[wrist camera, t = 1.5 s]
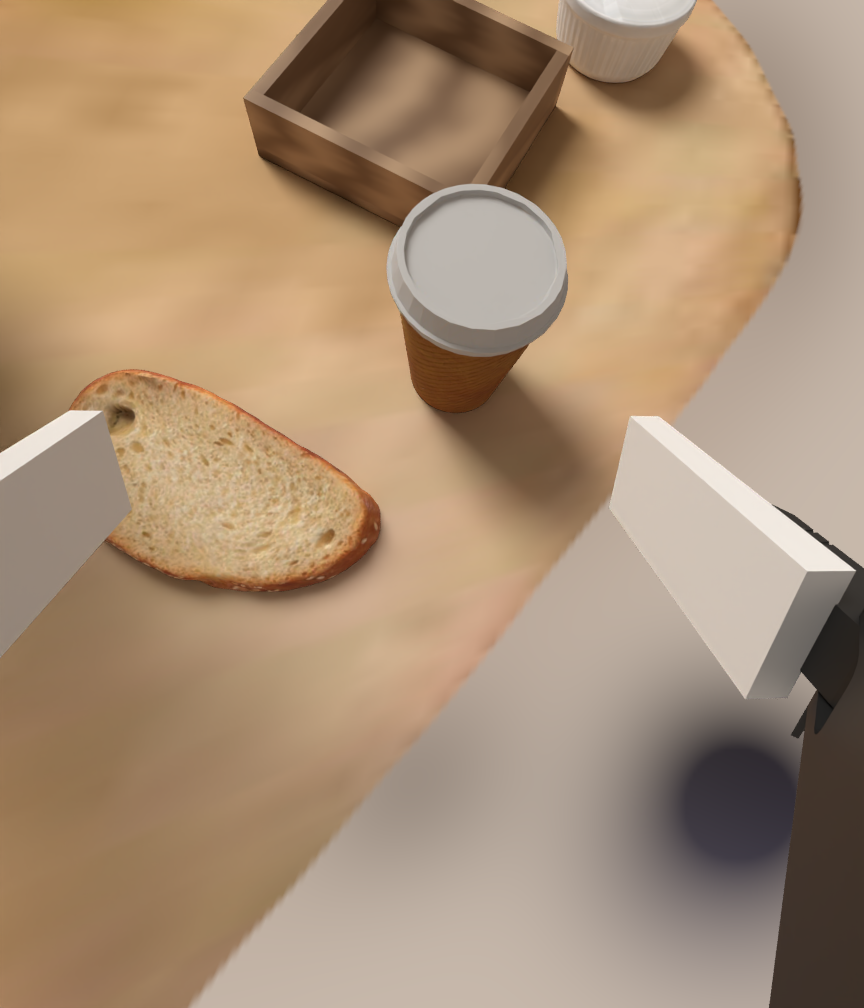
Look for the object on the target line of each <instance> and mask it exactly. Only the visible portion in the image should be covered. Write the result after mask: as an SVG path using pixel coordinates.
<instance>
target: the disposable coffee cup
mask: <svg viewBox="0 0 864 1008" xmlns="http://www.w3.org/2000/svg"><path fill="white" fill-rule="evenodd" d="M387 278H388V284H389V288H390V292H391V295H392V297H393V299H394V301H395V303H396V305H397V307H398V309H399V311H400V316H401V319H402V325H403V332H404V339H405V345H406V351H407V356H408V361H409V366H410V373H411V380H412V383H413V386H414V388H415V390H416V392H417V393H418V394H419V396H420V397H421V398H422V399H423V400H424V401H425V402H426V403H428V404H429V405H431V406H432V407H434V408H436V409H439V410H442V411H445V412H452V413H460V412H467V411H471V410H473V409H475V408H478V407H479V406H481V405H482V404H484V403H485V402H486V401H487V400H488V399H489V397H490V396H491V395H492V393H493V392H494V391H495V389H496V388H497V387H498V385H499V384H500V383H501V381H502V380H503V379H504V377H505V376H506V375H507V373H508V372H509V370H510V369H511V368H512V367H513V365H514V364H515V363H516V361H517V360H518V359H519V358H520V356H521V355H522V354H523V352H524V351H525V349H526V348H527V347H528V345H529V344H530V343H531V342H533V341H534V340H536V339H537V338H539V337H540V336H541V335H543V334H544V333H545V332H546V330H547V329H548V328H549V327H550V326H551V325H552V323H553V322H554V321H555V320H556V319H557V317H558V315H559V313H560V311H561V309H562V307H563V305H564V302H565V298H566V294H567V290H568V274H567V263H566V251H565V248H564V244H563V241H562V238H561V236H560V234H559V232H558V230H557V228H556V227H555V225H554V224H553V222H552V221H551V220H550V219H549V217H548V216H547V215H546V214H545V213H544V212H543V211H542V210H541V209H540V208H539V207H538V206H536V205H535V204H534V203H532V202H531V201H529V200H527V199H526V198H524V197H522V196H521V195H519V194H517V193H514V192H512V191H509V190H507V189H504V188H500V187H495V186H490V185H485V184H464V185H457V186H453V187H449V188H445V189H442V190H440V191H438V192H435V193H433V194H431V195H430V196H428V197H426V198H425V199H423V200H422V201H421V202H420V203H419V204H417V205H416V206H415V207H414V208H413V209H412V211H411V212H410V213H409V214H408V216H407V217H406V219H405V221H404V223H403V225H402V226H401V227H400V229H399V230H398V232H397V234H396V235H395V237H394V239H393V241H392V244H391V246H390V249H389V253H388V258H387Z"/></svg>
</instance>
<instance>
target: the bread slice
mask: <svg viewBox="0 0 864 1008" xmlns="http://www.w3.org/2000/svg"><path fill="white" fill-rule="evenodd" d="M70 410H77V411H103V413H104V416H105V419H106V423H107V426H108V430H109V433H110V436H111V440H112V443H113V447H114V450H115V453H116V457H117V460H118V464H119V467H120V470H121V474H122V477H123V481H124V484H125V487H126V491H127V494H128V498H129V501H130V504H131V508H132V510H131V511H130V512H129V513H128V514H127V515H126V517H125V518H124V519H123V520H122V521H121V522H120V523H119V525H118V526H117V527H116V528H115V529H114V530H113V531H112V532H111V534H110V535H109V536H108V537H107V538H106V539H105V541H107V542H109V543H111V544H112V545H114V546H115V547H116V548H118V549H119V550H121V551H123V552H125V553H127V554H128V555H130V556H132V557H133V558H134V559H136V560H138V561H140V562H142V563H144V564H146V565H148V566H150V567H152V568H154V569H157V570H159V571H160V572H162V573H164V574H167V575H168V576H170V577H173V578H176V579H182V580H199V581H202V582H204V583H206V584H208V585H210V586H213V587H216V588H224V589H232V590H237V591H267V592H278V591H287V590H292V589H296V588H300V587H305V586H309V585H312V584H315V583H319V582H322V581H325V580H328V579H330V578H332V577H334V576H336V575H338V574H339V573H341V572H343V571H345V570H346V569H348V568H349V567H350V566H352V565H353V564H354V563H356V562H357V561H358V560H359V559H361V558H362V557H363V556H364V555H365V554H366V552H367V551H368V550H369V548H370V547H371V546H372V545H373V544H374V543H375V542H376V540H377V538H378V535H379V531H380V509H379V507H378V505H377V503H376V502H375V501H374V500H373V498H372V497H371V496H370V495H369V494H368V493H367V492H365V491H364V490H362V489H361V488H360V487H359V486H358V485H357V484H356V483H355V482H354V481H353V480H352V479H351V478H350V477H348V476H347V475H346V474H345V473H343V472H342V471H340V470H339V469H337V468H336V467H334V466H333V465H332V464H330V463H329V462H327V461H326V460H325V459H323V458H321V457H320V456H318V455H317V454H315V453H313V452H311V451H309V450H308V449H306V448H304V447H302V446H299V445H298V444H296V443H295V442H293V441H292V440H290V439H289V438H288V437H286V436H285V435H283V434H281V433H280V432H278V431H276V430H275V429H273V428H271V427H269V426H268V425H266V424H264V423H263V422H262V421H260V420H259V419H257V418H256V417H254V416H253V415H251V414H249V413H247V412H246V411H244V410H243V409H241V408H240V407H238V406H236V405H234V404H233V403H231V402H228V401H226V400H224V399H222V398H220V397H218V396H217V395H215V394H213V393H211V392H209V391H207V390H205V389H203V388H201V387H198V386H195V385H192V384H189V383H185V382H182V381H179V380H177V379H174V378H171V377H168V376H164V375H161V374H158V373H154V372H149V371H145V370H136V369H130V370H121V371H116V372H112V373H109V374H107V375H105V376H103V377H101V378H99V379H96V380H95V381H93V382H92V383H91V384H89V385H88V386H87V387H86V388H84V389H83V390H82V391H81V392H80V394H79V395H78V397H77V398H76V399H75V400H74V402H73V403H72V405H71V407H70V409H69V411H70Z"/></svg>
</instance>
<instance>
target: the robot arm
mask: <svg viewBox="0 0 864 1008" xmlns="http://www.w3.org/2000/svg"><path fill="white" fill-rule="evenodd" d="M609 509H610V511H611V512H612V513H613V515H614V516H615V518H616V519H617V520H618V521H619V523H620V525H621V526H622V527H623V529H624V530H625V532H626V533H627V534H628V536H629V537H630V539H631V540H632V541H633V543H634V544H635V545H636V547H637V548H638V550H639V551H640V553H641V554H642V555H643V557H644V558H645V560H646V561H647V562H648V563H649V565H650V566H651V568H652V569H653V571H654V572H655V573H656V575H657V576H658V578H659V579H660V580H661V582H662V583H663V585H664V586H665V587H666V589H667V590H668V591H669V593H670V594H671V596H672V597H673V599H674V600H675V601H676V603H677V604H678V606H679V607H680V608H681V610H682V611H683V613H684V614H685V615H686V617H687V618H688V620H689V621H690V622H691V624H692V625H693V626H694V628H695V629H696V631H697V632H698V633H699V635H700V636H701V638H702V639H703V641H704V642H705V643H706V645H707V646H708V647H709V649H710V650H711V652H712V653H713V655H714V656H715V657H716V659H717V660H718V661H719V663H720V664H721V666H722V667H723V668H724V670H725V671H726V673H727V674H728V675H729V677H730V678H731V680H732V681H733V682H734V684H735V685H736V687H737V688H738V690H739V691H740V692H741V694H742V695H743V696H744V698H745V699H765V698H787V697H788V695H789V694H790V692H791V690H792V688H793V686H794V685H795V683H796V681H797V679H798V677H799V675H800V673H801V672H802V673H803V674H804V675H805V677H806V678H807V679H808V680H809V681H810V682H811V683H812V685H813V686H814V687H815V688H816V689H817V691H816V692H815V694H814V696H813V697H812V699H811V701H810V703H809V705H808V706H807V708H806V710H805V711H804V713H803V715H802V716H801V718H800V720H799V722H798V723H797V725H796V727H795V729H794V731H793V732H792V734H791V735H792V736H794V737H796V738H799V737H800V735H801V734H802V732H803V731H805V732H804V740H803V748H802V755H801V764H800V771H799V778H798V786H797V794H796V802H795V810H794V817H793V826H792V833H791V841H790V849H789V857H788V864H787V872H786V880H785V888H784V895H783V903H782V911H781V919H780V927H779V935H778V943H777V950H776V958H775V965H774V973H773V982H772V989H771V997H770V1004H769V1008H864V568H862V567H861V566H860V565H859V564H857V563H856V562H855V561H853V560H852V559H851V558H849V557H848V556H847V555H846V554H844V553H843V552H842V551H840V550H839V549H838V548H836V547H835V546H834V545H829V541H827V540H826V539H825V538H823V537H822V536H821V535H819V534H818V533H813V529H811V528H810V527H809V526H808V525H806V524H805V523H804V522H802V521H801V520H800V519H798V518H797V517H796V516H795V515H793V514H791V513H789V512H787V511H785V510H782V509H780V508H778V507H776V506H774V505H772V504H770V503H769V502H768V501H766V500H765V499H764V498H762V497H761V496H760V495H759V494H757V493H756V492H755V491H753V490H752V489H751V488H750V487H748V486H747V485H746V484H744V483H743V482H742V481H741V480H739V479H738V478H737V477H735V476H734V475H733V474H732V473H730V472H729V471H728V470H727V469H725V468H724V467H723V466H722V465H720V464H719V463H718V462H716V461H715V460H713V458H711V457H710V456H708V455H707V454H706V453H705V452H703V451H702V450H701V449H700V448H699V447H697V446H696V445H695V444H693V443H692V442H691V441H690V440H688V439H687V438H686V437H684V436H683V435H682V434H681V433H679V432H678V431H677V430H675V429H674V428H673V427H672V426H670V425H669V424H668V423H667V422H665V421H664V420H663V419H661V418H660V417H659V416H630V419H629V423H628V427H627V432H626V436H625V440H624V445H623V449H622V453H621V457H620V462H619V466H618V470H617V475H616V479H615V483H614V488H613V492H612V496H611V501H610V505H609ZM131 510H132V508H131V504H130V501H129V498H128V494H127V491H126V487H125V484H124V481H123V477H122V474H121V470H120V467H119V464H118V460H117V457H116V453H115V450H114V447H113V443H112V440H111V436H110V433H109V430H108V426H107V423H106V419H105V416H104V413H103V411H77V410H70V411H68V412H66V413H65V414H63V415H62V416H60V417H58V418H57V419H55V420H53V421H52V422H50V423H48V424H47V425H45V426H44V427H42V428H40V429H39V430H37V431H35V432H34V433H32V434H30V435H29V436H27V437H26V438H24V439H22V440H21V441H19V442H17V443H16V444H14V445H12V446H11V447H9V448H8V449H6V450H4V451H3V452H1V453H0V658H1V657H2V656H3V654H4V653H5V652H6V651H7V650H8V649H9V648H10V647H11V645H12V644H13V643H14V642H15V641H16V640H17V639H18V637H19V636H20V635H21V634H22V633H23V632H24V631H25V630H26V628H27V627H28V626H29V625H30V624H31V623H32V622H33V621H34V619H35V618H36V617H37V616H38V615H39V614H40V613H41V612H42V610H43V609H44V608H45V607H46V606H47V605H48V604H49V602H50V601H51V600H52V599H53V598H54V597H55V596H56V595H57V593H58V592H59V591H60V590H61V589H62V588H63V587H64V586H65V584H66V583H67V582H68V581H69V580H70V579H71V578H72V576H73V575H74V574H75V573H76V572H77V571H78V570H79V569H80V567H81V566H82V565H83V564H84V563H85V562H86V561H87V560H88V558H89V557H90V556H91V555H92V554H93V553H94V552H95V551H96V549H97V548H98V547H99V546H100V545H101V544H102V543H103V541H104V540H105V539H106V538H107V537H108V536H109V535H110V534H111V532H112V531H113V530H114V529H115V528H116V527H117V526H118V525H119V523H120V522H121V521H122V520H123V519H124V518H125V517H126V515H127V514H128V513H129V512H130V511H131Z"/></svg>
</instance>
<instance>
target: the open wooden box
mask: <svg viewBox="0 0 864 1008" xmlns="http://www.w3.org/2000/svg"><path fill="white" fill-rule="evenodd" d="M573 49H574V47H572V46H570V45H567V44H565V43H563V42H561V41H559V40H557V39H555V38H553V37H551V36H548V35H546V34H544V33H542V32H540V31H538V30H536V29H534V28H532V27H530V26H527V25H525V24H523V23H521V22H519V21H517V20H515V19H513V18H511V17H508V16H506V15H504V14H502V13H500V12H498V11H496V10H494V9H492V8H490V7H487V6H485V5H483V4H481V3H479V2H477V1H475V0H327V2H326V3H325V4H324V5H323V6H322V7H321V9H320V10H319V11H318V12H317V13H316V14H315V15H314V17H313V18H312V19H311V20H310V21H309V22H308V24H307V25H306V26H305V27H304V28H303V29H302V31H301V32H300V33H299V34H298V35H297V36H296V37H295V39H294V40H293V41H292V42H291V43H290V44H289V46H288V47H287V48H286V49H285V50H284V51H283V53H282V54H281V55H280V56H279V57H278V58H277V59H276V61H275V62H274V63H273V64H272V65H271V66H270V68H269V69H268V70H267V71H266V72H265V73H264V75H263V76H262V77H261V78H260V79H259V80H258V81H257V83H256V84H255V85H254V86H253V87H252V88H251V90H250V91H249V92H248V93H247V94H246V95H245V96H244V98H243V99H244V102H245V106H246V110H247V113H248V117H249V121H250V124H251V128H252V132H253V135H254V139H255V143H256V146H257V150H258V154H259V156H261V157H263V158H265V159H267V160H269V161H271V162H273V163H275V164H277V165H279V166H281V167H283V168H285V169H287V170H289V171H291V172H293V173H295V174H297V175H299V176H301V177H303V178H304V179H306V180H308V181H310V182H312V183H314V184H316V185H318V186H320V187H322V188H324V189H326V190H328V191H330V192H332V193H334V194H336V195H338V196H340V197H342V198H344V199H346V200H348V201H350V202H352V203H354V204H356V205H358V206H360V207H362V208H364V209H366V210H368V211H370V212H372V213H374V214H376V215H378V216H380V217H382V218H384V219H386V220H388V221H390V222H392V223H394V224H396V225H398V226H400V227H401V226H402V225H403V223H404V221H405V219H406V217H407V216H408V214H409V213H410V212H411V211H412V209H413V208H414V207H415V206H416V205H417V204H419V203H420V202H421V201H422V200H423V199H425V198H426V197H428V196H430V195H431V194H433V193H435V192H438V191H440V190H442V189H445V188H449V187H453V186H457V185H464V184H485V185H490V186H495V187H500V188H505V186H506V185H507V183H508V182H509V180H510V178H511V177H512V175H513V174H514V172H515V170H516V169H517V167H518V166H519V164H520V162H521V161H522V159H523V158H524V156H525V154H526V153H527V151H528V149H529V148H530V146H531V145H532V143H533V141H534V140H535V138H536V137H537V135H538V133H539V132H540V130H541V129H542V127H543V125H544V124H545V122H546V121H547V119H548V117H549V116H550V114H551V112H552V111H553V109H554V108H555V106H556V103H557V100H558V97H559V94H560V91H561V87H562V84H563V81H564V78H565V75H566V71H567V68H568V65H569V62H570V59H571V55H572V52H573Z"/></svg>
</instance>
